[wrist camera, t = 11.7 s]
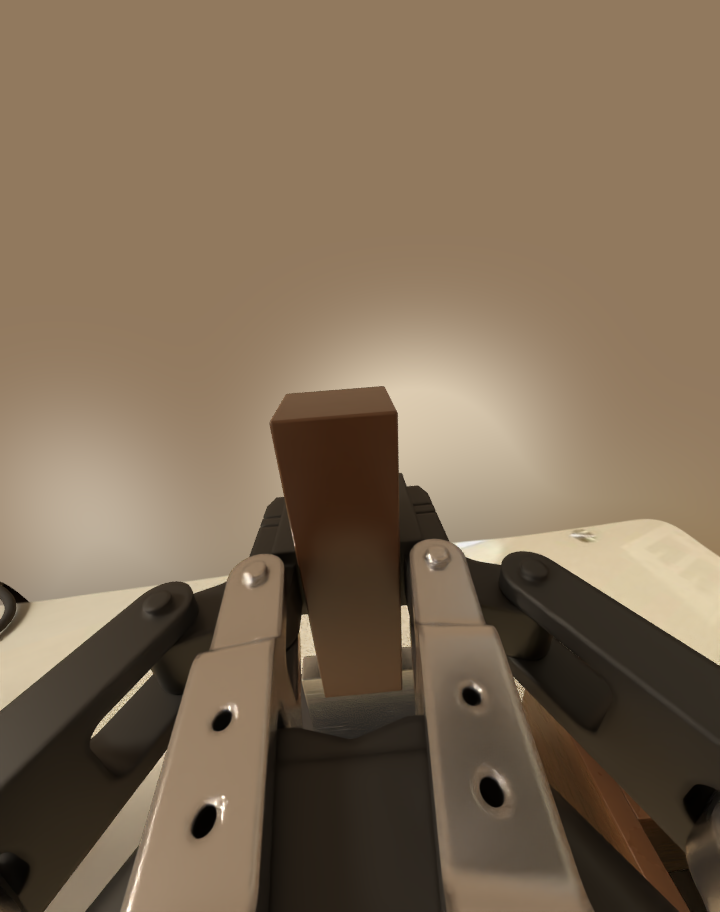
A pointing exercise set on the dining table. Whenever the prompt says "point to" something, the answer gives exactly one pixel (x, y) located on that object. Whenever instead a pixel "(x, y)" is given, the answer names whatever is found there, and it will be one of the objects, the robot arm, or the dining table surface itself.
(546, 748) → the knife rack
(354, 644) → the chef knife
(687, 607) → the dining table surface
